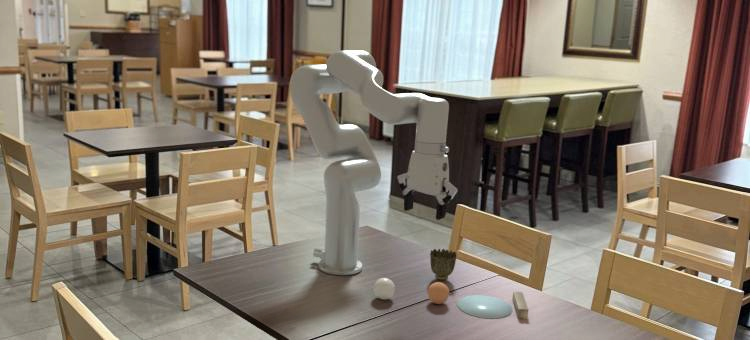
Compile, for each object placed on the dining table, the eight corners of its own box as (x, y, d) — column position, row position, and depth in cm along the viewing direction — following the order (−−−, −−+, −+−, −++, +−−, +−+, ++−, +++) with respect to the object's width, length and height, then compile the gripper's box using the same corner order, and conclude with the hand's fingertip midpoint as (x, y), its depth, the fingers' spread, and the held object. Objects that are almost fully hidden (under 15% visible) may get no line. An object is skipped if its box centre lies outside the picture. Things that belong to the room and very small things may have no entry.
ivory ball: (369, 299, 177) (370, 279, 176) (378, 292, 182) (379, 273, 181) (388, 304, 175) (389, 284, 174) (397, 297, 180) (398, 277, 178)
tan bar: (517, 318, 171) (518, 308, 170) (512, 300, 182) (513, 291, 181) (527, 318, 171) (528, 309, 170) (521, 301, 182) (522, 292, 181)
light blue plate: (449, 310, 174) (449, 309, 174) (467, 291, 186) (467, 291, 186) (503, 323, 168) (503, 322, 168) (518, 303, 180) (518, 302, 180)
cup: (453, 286, 189) (455, 258, 188) (426, 282, 191) (428, 255, 189) (455, 276, 196) (458, 250, 195) (430, 273, 198) (432, 247, 196)
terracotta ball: (423, 304, 176) (425, 284, 175) (431, 297, 181) (433, 277, 180) (443, 309, 174) (445, 288, 173) (451, 301, 179) (453, 281, 178)
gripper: (467, 152, 168) (461, 219, 172) (409, 140, 178) (404, 203, 182) (451, 156, 162) (445, 225, 166) (392, 143, 172) (387, 209, 176)
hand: (424, 214), depth 174 cm, fingers open, 9 cm apart
